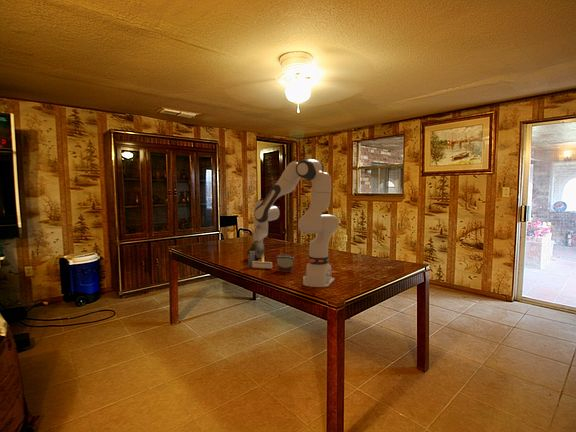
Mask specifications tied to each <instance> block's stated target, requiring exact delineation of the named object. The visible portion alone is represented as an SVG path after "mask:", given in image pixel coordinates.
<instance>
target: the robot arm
mask: <svg viewBox="0 0 576 432" xmlns="http://www.w3.org/2000/svg"><path fill="white" fill-rule="evenodd" d="M324 168H325V167H324V164H323V163H322V162H321V161H320V160H318V159H313V158H304V159H301V160H300V161H290V163H288V164H287V166H286V167H285V169H284V170H283V172H282V173H281V176H280V177H279V179H278V180H277V181H276V182H275V184H273V186H272V187H271V188H270V189H269V191H268V192H267V194H266V196H265V197H264V199H261V200H256V201H255V202H254V205H253V215H254V217H253V232H252V233H253V236H252V237H253V241H254V242H255V241H258V242H259V246H261V245H263V244H264V243H263V242H264V239H265V238H266V237H268V235H269V225H270V224H269V222H272V221H276V220H278V219H279V218H280V216H281V214H280V213H281V212H280V211H281V210H280V209H279V207H278V206H276V205H274V203H275V202H276V201H277V200H278V199H279V198H281V197H282V196H284V195H287V194H290V193H292V192H293V191H294V190H295V189H296V187H297V185H298V184H299V182H300V180H301V179H304V180H306V181H308V182H310V181H311V184H312V187H311V188H312V189H311V197H310V204H309V207H308V208H307V211H306V212H305V213H304V214H303V215H302V216H301V217H299V220H298V224H297V227H298V229H299V230H300V232H301V233H303V234H308V235H311V234H316V237H314V238H313V239H312V240H311V241H310V242H309V250H308V251H309V252H308V253H309V255H308V258H307V259H308V263H307V264H306V271H305V273H304V276H302V285H303V286H306V287H312V288H327V287H329V286H330V285H331V284H332V283H333V282H334V281H335V278H334V277H332V266H331V264H330V263H329V262H330V261H329V259H330V258H329V257H330V256H329V244H330V241H331V238H332V236H333V234H334V233H335V232H336V231H337V230H338V228H339V226H340V221H339V218H338V217H337V216H336V215H333V214H328V213H327V214H323V212H324V211H325V210H326V209H327V208H328V207H330V204H331V197H332V177H331V175H330V174H329V173H328V172H325V171H324V170H325V169H324Z"/></svg>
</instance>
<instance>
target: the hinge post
mask: <svg viewBox="0 0 576 432" xmlns="http://www.w3.org/2000/svg"><path fill="white" fill-rule="evenodd" d="M247 255H248V254H247ZM247 257H248V258H247V259H248V263H247V264H248V267H247V268H248V269H250V268H251V269H252V268H253V267H252V255H251V254H249V255H248V256H247Z"/></svg>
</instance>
